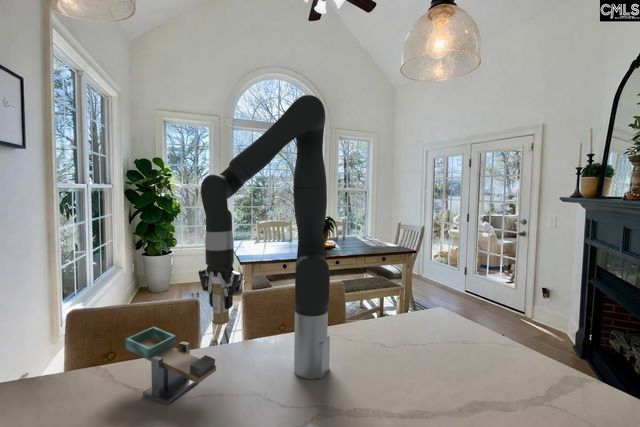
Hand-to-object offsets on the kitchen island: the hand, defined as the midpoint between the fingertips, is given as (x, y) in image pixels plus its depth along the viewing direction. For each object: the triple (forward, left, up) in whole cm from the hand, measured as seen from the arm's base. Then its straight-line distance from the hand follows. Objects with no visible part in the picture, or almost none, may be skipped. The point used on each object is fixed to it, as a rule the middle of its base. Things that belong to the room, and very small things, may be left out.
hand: (220, 306), depth 90 cm
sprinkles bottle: (0, 0, -5) cm, 5 cm away
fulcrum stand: (+5, +13, -17) cm, 22 cm away
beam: (+5, +13, -9) cm, 17 cm away
